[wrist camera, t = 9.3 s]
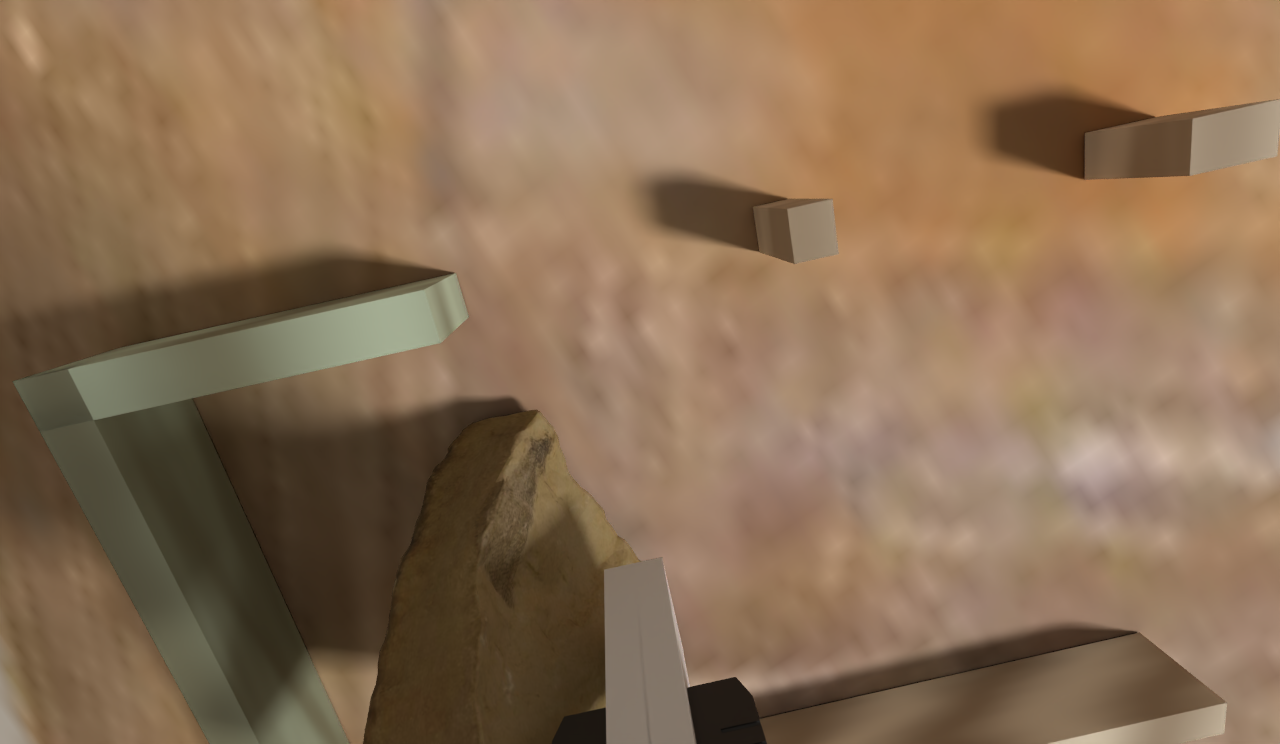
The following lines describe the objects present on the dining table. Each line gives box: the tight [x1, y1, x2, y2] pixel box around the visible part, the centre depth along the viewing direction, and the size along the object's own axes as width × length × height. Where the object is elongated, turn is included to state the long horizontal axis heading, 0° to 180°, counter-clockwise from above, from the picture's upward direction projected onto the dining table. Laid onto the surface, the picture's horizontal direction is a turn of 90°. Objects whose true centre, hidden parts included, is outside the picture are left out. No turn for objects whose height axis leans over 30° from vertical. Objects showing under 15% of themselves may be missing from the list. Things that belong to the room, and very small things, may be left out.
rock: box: [363, 410, 642, 744], centre depth 15 cm, size 11×9×10 cm
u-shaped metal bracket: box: [13, 99, 1280, 744], centre depth 17 cm, size 28×18×3 cm, turn 102°
